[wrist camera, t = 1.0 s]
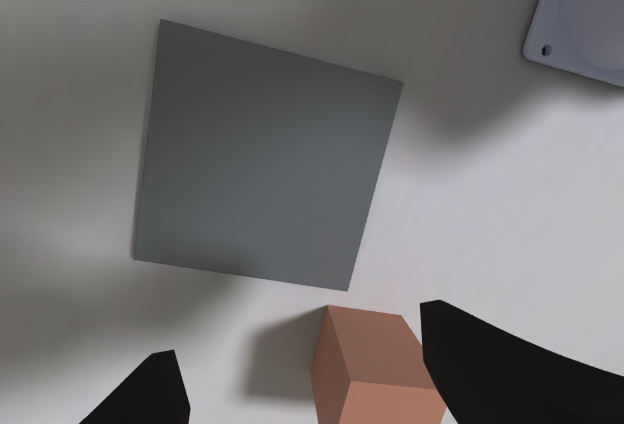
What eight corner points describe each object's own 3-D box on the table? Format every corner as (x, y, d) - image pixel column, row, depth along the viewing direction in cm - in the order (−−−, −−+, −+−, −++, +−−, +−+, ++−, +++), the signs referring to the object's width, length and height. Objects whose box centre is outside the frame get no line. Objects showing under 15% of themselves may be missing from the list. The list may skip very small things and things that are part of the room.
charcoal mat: (399, 83, 17) (403, 82, 17) (345, 287, 20) (347, 291, 19) (163, 22, 15) (160, 18, 15) (137, 255, 18) (134, 259, 17)
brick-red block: (401, 315, 21) (452, 391, 15) (381, 379, 22) (421, 474, 16) (327, 304, 20) (351, 380, 14) (310, 372, 21) (325, 468, 15)
